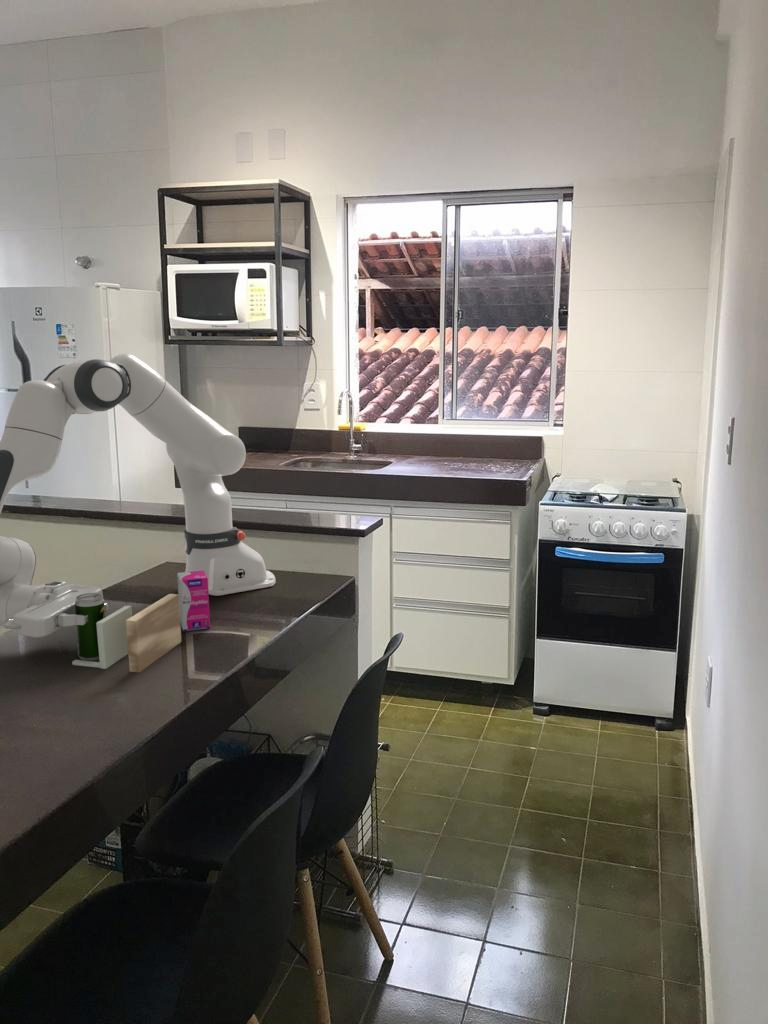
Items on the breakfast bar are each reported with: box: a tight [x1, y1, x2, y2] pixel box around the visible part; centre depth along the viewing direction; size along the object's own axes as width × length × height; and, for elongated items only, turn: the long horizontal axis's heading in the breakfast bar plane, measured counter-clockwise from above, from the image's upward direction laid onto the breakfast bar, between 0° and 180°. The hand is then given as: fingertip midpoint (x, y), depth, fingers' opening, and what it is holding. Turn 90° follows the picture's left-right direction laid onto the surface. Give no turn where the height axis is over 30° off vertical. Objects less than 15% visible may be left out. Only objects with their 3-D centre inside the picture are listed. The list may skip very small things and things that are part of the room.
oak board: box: [126, 593, 182, 673], centre depth 162 cm, size 2×16×10 cm, turn 165°
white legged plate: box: [71, 605, 133, 670], centre depth 162 cm, size 7×10×9 cm
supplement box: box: [176, 571, 211, 632], centre depth 178 cm, size 6×6×12 cm
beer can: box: [75, 593, 106, 662], centre depth 162 cm, size 5×5×12 cm
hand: (96, 613), depth 161 cm, fingers closed on beer can, 5 cm apart
